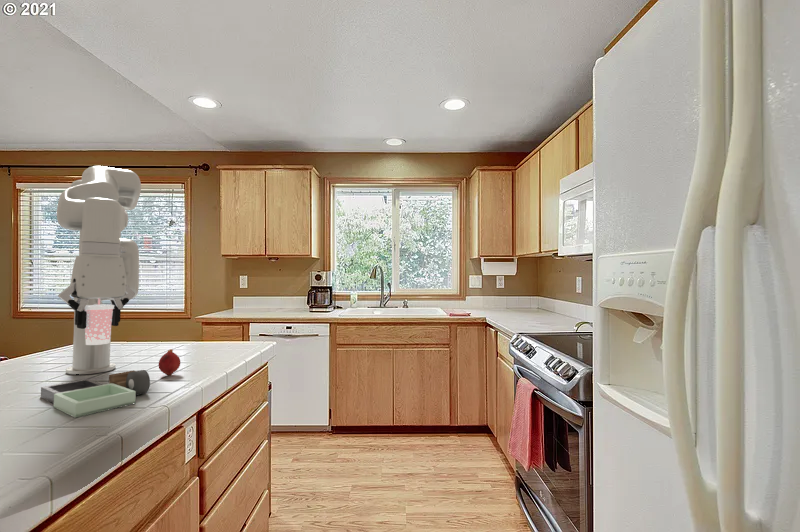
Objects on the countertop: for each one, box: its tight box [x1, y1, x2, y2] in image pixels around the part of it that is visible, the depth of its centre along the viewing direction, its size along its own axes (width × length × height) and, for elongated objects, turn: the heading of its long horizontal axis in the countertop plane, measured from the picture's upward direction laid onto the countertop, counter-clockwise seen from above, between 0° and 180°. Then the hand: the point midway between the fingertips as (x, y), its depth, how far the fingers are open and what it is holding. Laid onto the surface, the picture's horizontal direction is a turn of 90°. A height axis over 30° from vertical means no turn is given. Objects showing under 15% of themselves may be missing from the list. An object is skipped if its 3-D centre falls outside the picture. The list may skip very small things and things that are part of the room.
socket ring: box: [40, 378, 105, 404], centre depth 104 cm, size 10×10×2 cm
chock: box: [108, 370, 135, 388], centre depth 110 cm, size 5×6×4 cm
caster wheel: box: [126, 369, 151, 396], centre depth 106 cm, size 6×3×6 cm, turn 57°
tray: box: [53, 383, 137, 418], centre depth 97 cm, size 12×12×3 cm
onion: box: [158, 348, 181, 376], centre depth 126 cm, size 6×6×8 cm
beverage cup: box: [84, 299, 114, 345], centre depth 98 cm, size 6×6×14 cm
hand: (98, 326), depth 98 cm, fingers closed on beverage cup, 6 cm apart
